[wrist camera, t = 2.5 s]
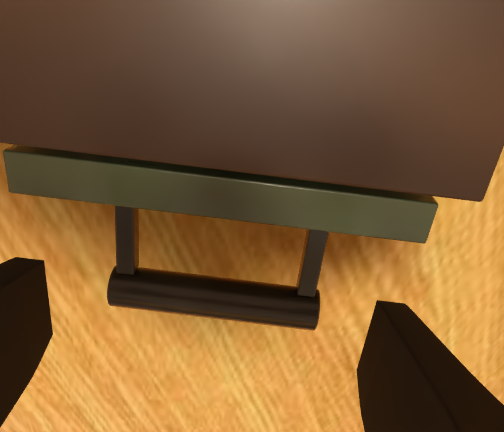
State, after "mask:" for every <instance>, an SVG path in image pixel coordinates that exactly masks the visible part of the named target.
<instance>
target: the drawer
mask: <svg viewBox="0 0 504 432" xmlns="http://www.w3.org/2000/svg"><path fill="white" fill-rule="evenodd" d="M3 154H4V161H5V167H6V174H7V181H8V188H9V192H11V193H19V194H27V195H35V196H43V197H51V198H59V199H67V200H75V201H84V202H92V203H100V204H108V205H115V231H116V264H117V265H116V266H115V267H114V268H113V270H112V273H111V275H110V279H109V283H108V289H107V300H108V304H109V305H110V306H116V307H124V308H132V309H141V310H149V311H157V312H165V313H173V314H182V315H190V316H198V317H206V318H214V319H223V320H231V321H239V322H247V323H255V324H264V325H272V326H280V327H288V328H296V329H305V330H315V329H316V327H317V324H318V319H319V312H320V293H319V290H318V289H317V284H318V279H319V275H320V270H321V266H322V261H323V256H324V252H325V247H326V243H327V238H328V233H329V232H335V233H344V234H352V235H360V236H368V237H376V238H384V239H392V240H400V241H409V242H417V243H426V241H427V238H428V235H429V232H430V229H431V226H432V223H433V220H434V217H435V214H436V211H437V208H438V203H437V202H436V200H435V199H434V198H433V196H429V195H421V194H413V193H405V192H397V191H389V190H380V189H372V188H364V187H356V186H348V185H340V184H332V183H324V182H316V181H308V180H300V179H291V178H283V177H275V176H267V175H259V174H251V173H243V172H235V171H227V170H219V169H211V168H202V167H194V166H186V165H178V164H170V163H162V162H154V161H146V160H138V159H130V158H122V157H113V156H105V155H97V154H89V153H81V152H73V151H65V150H57V149H49V148H41V147H33V146H24V145H16V144H14V145H12V146H10V147H8V148H7V149H5V150H4V151H3ZM138 208H140V209H149V210H157V211H165V212H173V213H181V214H189V215H197V216H205V217H214V218H222V219H230V220H238V221H246V222H254V223H262V224H270V225H279V226H287V227H295V228H303V229H307V232H306V237H305V243H304V248H303V253H302V258H301V264H300V269H299V274H298V279H297V285H296V286H297V287H295V286H287V285H279V284H271V283H263V282H254V281H246V280H238V279H230V278H222V277H214V276H205V275H197V274H189V273H181V272H173V271H165V270H156V269H148V268H140V267H138V266H139V218H138Z"/></svg>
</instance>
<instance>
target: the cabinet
mask: <svg viewBox="0 0 504 432" xmlns="http://www.w3.org/2000/svg"><path fill="white" fill-rule="evenodd" d="M0 143H8V144H16V145H24V146H33V147H41V148H49V149H57V150H65V151H73V152H81V153H89V154H97V155H105V156H113V157H122V158H130V159H138V160H146V161H154V162H162V163H170V164H178V165H186V166H194V167H202V168H211V169H219V170H227V171H235V172H243V173H251V174H259V175H267V176H275V177H283V178H291V179H300V180H308V181H316V182H324V183H332V184H340V185H348V186H356V187H364V188H372V189H380V190H389V191H397V192H405V193H413V194H421V195H429V196H437V197H445V198H453V199H461V200H469V201H478V202H481V201H482V200H483V199H484V196H485V193H486V191H487V188H488V186H489V183H490V180H491V178H492V175H493V172H494V170H495V167H496V165H497V162H498V159H499V157H500V154H501V152H502V149H503V146H504V0H0Z"/></svg>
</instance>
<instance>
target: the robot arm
mask: <svg viewBox="0 0 504 432" xmlns="http://www.w3.org/2000/svg"><path fill="white" fill-rule="evenodd" d="M52 335H53V331H52V323H51V315H50V307H49V298H48V290H47V282H46V274H45V265H44V260H35V259H27V258H19V257H15V258H13V259H10V260H8V261H6V262H3V263H1V264H0V427H1V426H2V424H3V423H4V421H5V419H6V418H7V416H8V415H9V413H10V412H11V410H12V409H13V407H14V405H15V404H16V402H17V401H18V399H19V398H20V396H21V394H22V393H23V391H24V390H25V388H26V387H27V385H28V383H29V382H30V380H31V379H32V377H33V375H34V373H35V371H36V369H37V367H38V365H39V363H40V361H41V359H42V357H43V355H44V352H45V350H46V348H47V346H48V344H49V341H50V339H51V337H52ZM357 379H358V390H359V399H360V408H361V416H362V421H363V425H364V430H365V432H504V405H503V404H502V403H501V402H500V401H499V400H498V399H497V398H495V397H494V396H493V395H492V394H491V393H490V392H489V391H488V390H487V389H486V388H485V387H484V386H483V385H482V384H481V383H480V382H479V381H478V380H477V379H476V378H475V377H474V376H473V375H472V374H471V373H470V372H469V371H468V370H467V368H466V367H465V366H464V365H463V364H462V363H461V362H460V361H459V360H458V359H457V358H456V357H455V356H454V355H453V354H452V353H451V352H450V351H449V350H448V349H447V347H446V346H445V345H444V344H443V343H442V342H441V341H440V340H439V339H438V338H437V337H436V336H435V335H434V333H433V332H432V331H431V330H430V329H429V328H428V327H427V326H426V325H425V324H424V323H423V322H422V320H421V319H420V318H419V317H418V316H417V315H416V314H415V313H414V312H413V311H412V310H411V309H410V308H409V307H408V306H407V305H406V304H403V303H395V302H387V301H378V300H377V302H376V306H375V309H374V313H373V316H372V319H371V323H370V326H369V330H368V333H367V337H366V340H365V344H364V347H363V350H362V354H361V357H360V361H359V364H358V368H357Z"/></svg>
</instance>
